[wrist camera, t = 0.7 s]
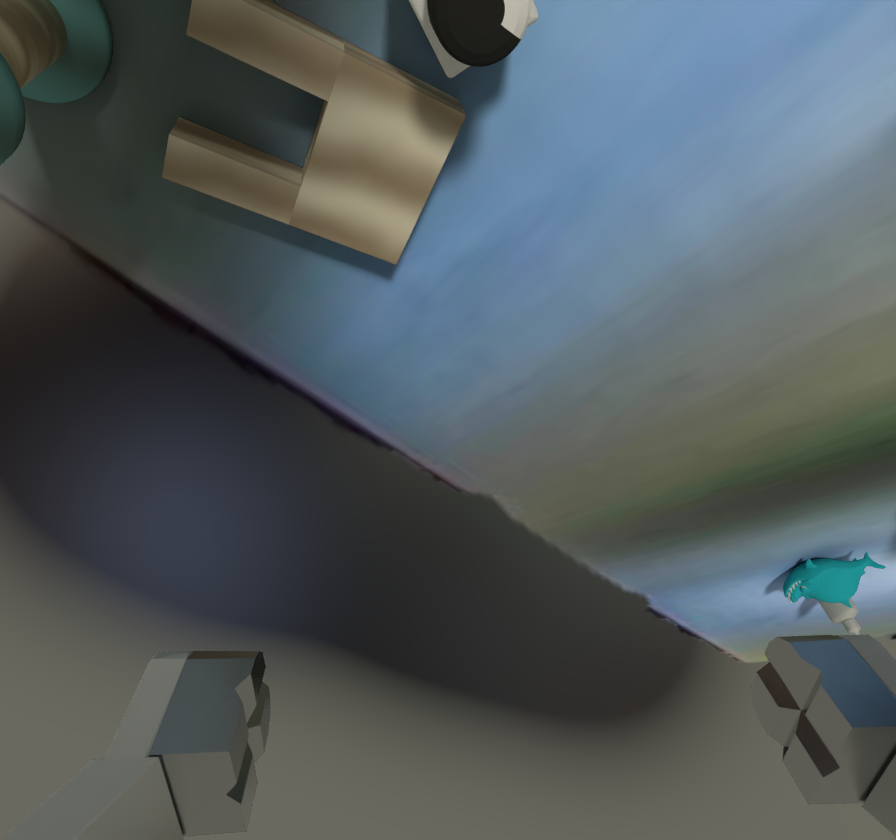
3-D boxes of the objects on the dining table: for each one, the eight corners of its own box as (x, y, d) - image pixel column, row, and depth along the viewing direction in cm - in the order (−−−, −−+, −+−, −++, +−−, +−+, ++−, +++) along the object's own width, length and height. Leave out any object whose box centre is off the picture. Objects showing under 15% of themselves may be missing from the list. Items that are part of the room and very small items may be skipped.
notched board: (205, -33, 40) (196, -24, 37) (458, 99, 48) (466, 115, 45) (171, 158, 48) (161, 177, 46) (393, 243, 56) (396, 264, 54)
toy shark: (768, 567, 116) (798, 618, 108) (861, 529, 110) (900, 579, 103) (778, 584, 122) (807, 633, 115) (867, 549, 116) (904, 598, 109)
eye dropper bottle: (838, 581, 125) (875, 634, 117) (812, 592, 127) (846, 645, 119) (834, 574, 122) (871, 628, 114) (807, 585, 124) (842, 639, 116)
